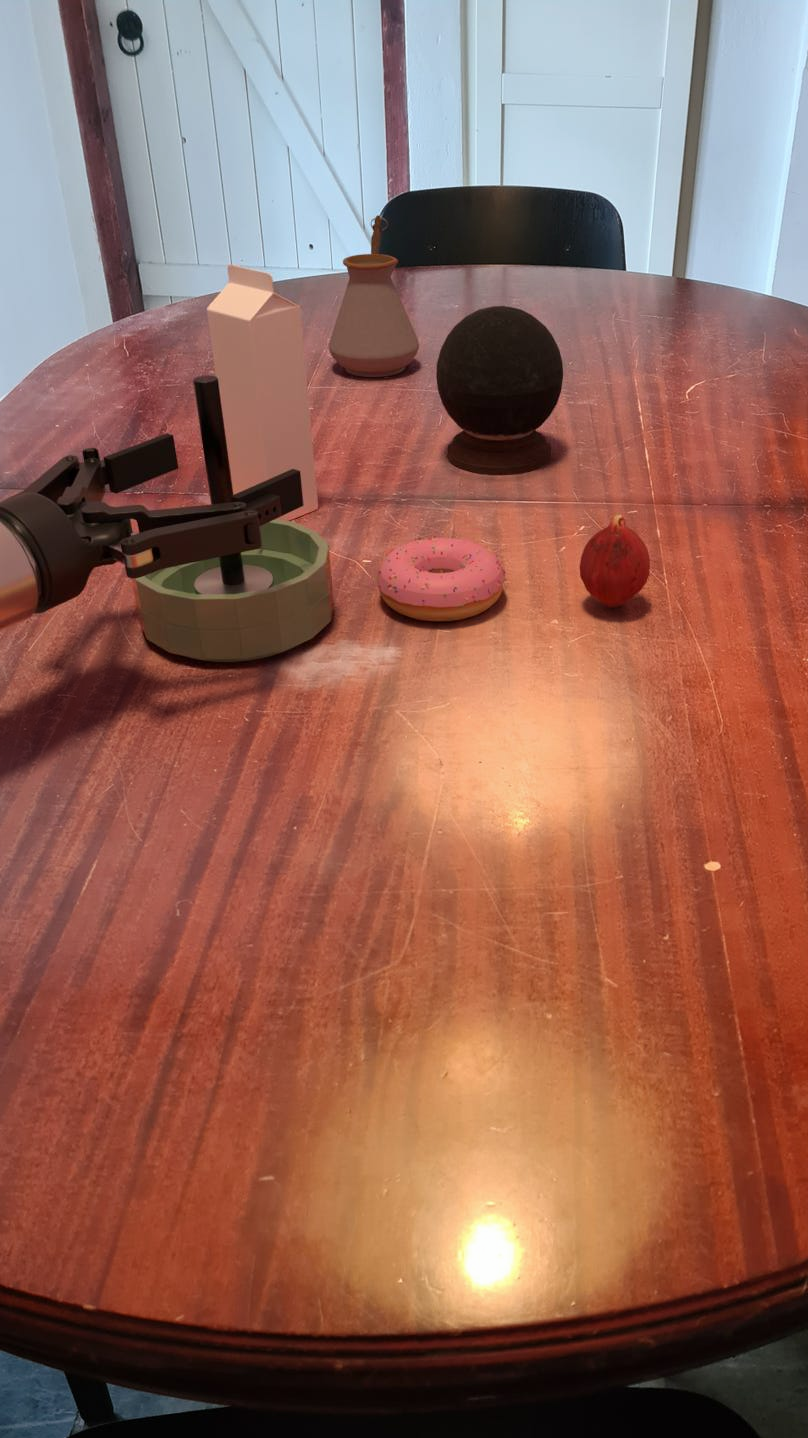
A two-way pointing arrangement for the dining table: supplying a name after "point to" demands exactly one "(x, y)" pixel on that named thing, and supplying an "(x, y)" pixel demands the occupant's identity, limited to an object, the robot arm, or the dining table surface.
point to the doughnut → (440, 579)
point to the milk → (262, 384)
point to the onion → (615, 564)
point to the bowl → (242, 601)
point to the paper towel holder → (221, 495)
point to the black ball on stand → (499, 390)
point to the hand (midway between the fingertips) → (233, 468)
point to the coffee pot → (372, 317)
